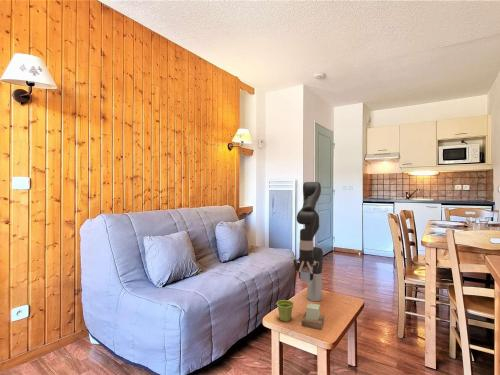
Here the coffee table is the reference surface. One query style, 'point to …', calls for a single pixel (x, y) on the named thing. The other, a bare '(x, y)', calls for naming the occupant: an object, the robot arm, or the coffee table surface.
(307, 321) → the walnut square pad
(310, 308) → the sage block
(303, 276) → the slate block
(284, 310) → the plant pot
